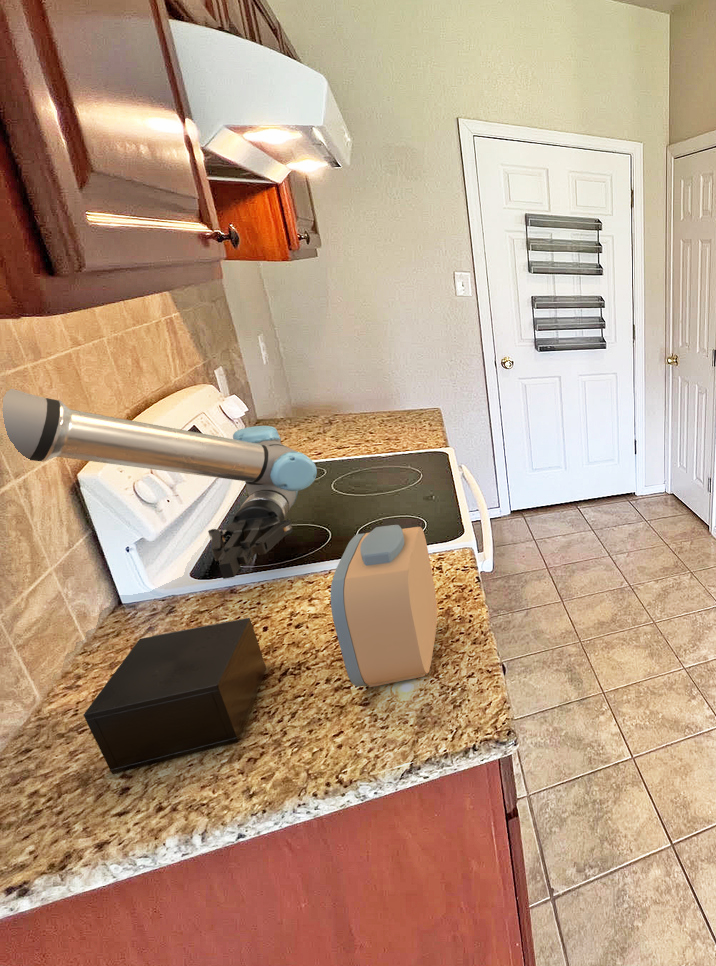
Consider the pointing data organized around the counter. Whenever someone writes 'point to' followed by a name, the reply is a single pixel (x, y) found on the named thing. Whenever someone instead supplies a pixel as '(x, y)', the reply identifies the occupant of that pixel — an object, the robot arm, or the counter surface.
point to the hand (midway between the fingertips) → (226, 571)
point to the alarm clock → (385, 606)
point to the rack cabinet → (178, 695)
